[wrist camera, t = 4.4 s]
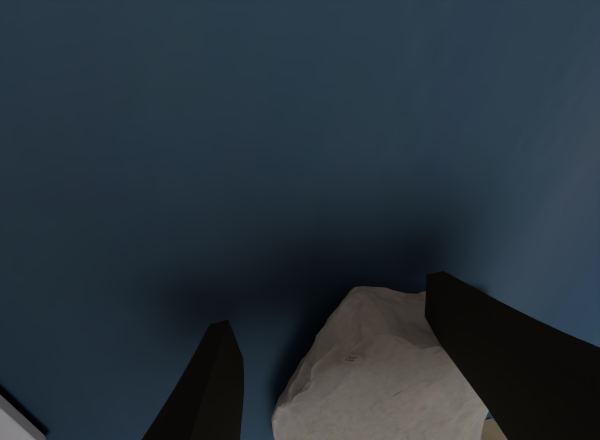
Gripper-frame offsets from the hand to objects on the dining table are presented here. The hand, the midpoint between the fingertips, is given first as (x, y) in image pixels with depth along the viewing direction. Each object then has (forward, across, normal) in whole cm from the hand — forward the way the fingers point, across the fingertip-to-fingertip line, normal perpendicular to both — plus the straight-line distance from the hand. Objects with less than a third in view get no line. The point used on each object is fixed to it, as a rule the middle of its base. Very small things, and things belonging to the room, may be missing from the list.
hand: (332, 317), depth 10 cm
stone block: (+2, -2, +6) cm, 7 cm away
